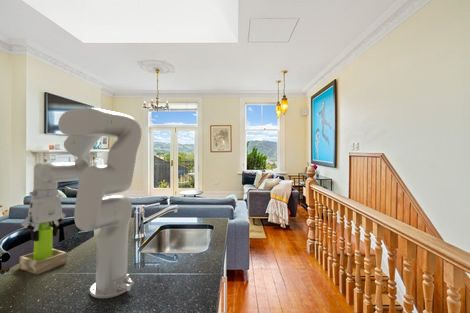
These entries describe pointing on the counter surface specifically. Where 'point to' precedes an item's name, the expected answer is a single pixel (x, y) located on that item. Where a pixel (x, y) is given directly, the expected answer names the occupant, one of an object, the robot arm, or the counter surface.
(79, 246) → the counter surface
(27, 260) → the box
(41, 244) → the soap dispenser
